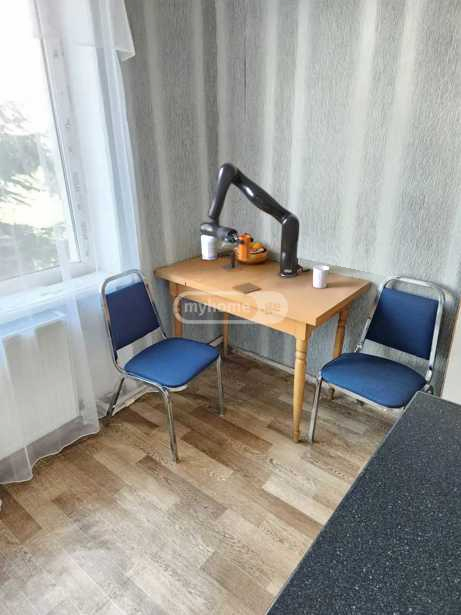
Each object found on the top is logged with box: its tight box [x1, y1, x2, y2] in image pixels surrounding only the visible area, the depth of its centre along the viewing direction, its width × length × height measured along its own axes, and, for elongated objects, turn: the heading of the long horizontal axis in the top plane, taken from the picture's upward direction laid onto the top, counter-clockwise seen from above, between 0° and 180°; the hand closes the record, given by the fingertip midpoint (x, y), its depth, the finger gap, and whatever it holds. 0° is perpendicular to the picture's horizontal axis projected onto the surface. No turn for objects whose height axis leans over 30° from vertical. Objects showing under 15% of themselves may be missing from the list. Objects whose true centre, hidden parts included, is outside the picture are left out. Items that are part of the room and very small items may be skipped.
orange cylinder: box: [238, 234, 252, 261], centre depth 195 cm, size 6×6×11 cm
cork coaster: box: [232, 282, 261, 294], centre depth 203 cm, size 10×10×1 cm
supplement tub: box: [200, 234, 218, 260], centre depth 246 cm, size 10×10×15 cm
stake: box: [223, 252, 243, 270], centre depth 231 cm, size 9×9×9 cm
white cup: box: [312, 265, 330, 289], centre depth 203 cm, size 8×8×10 cm
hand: (247, 241), depth 192 cm, fingers closed on orange cylinder, 5 cm apart
